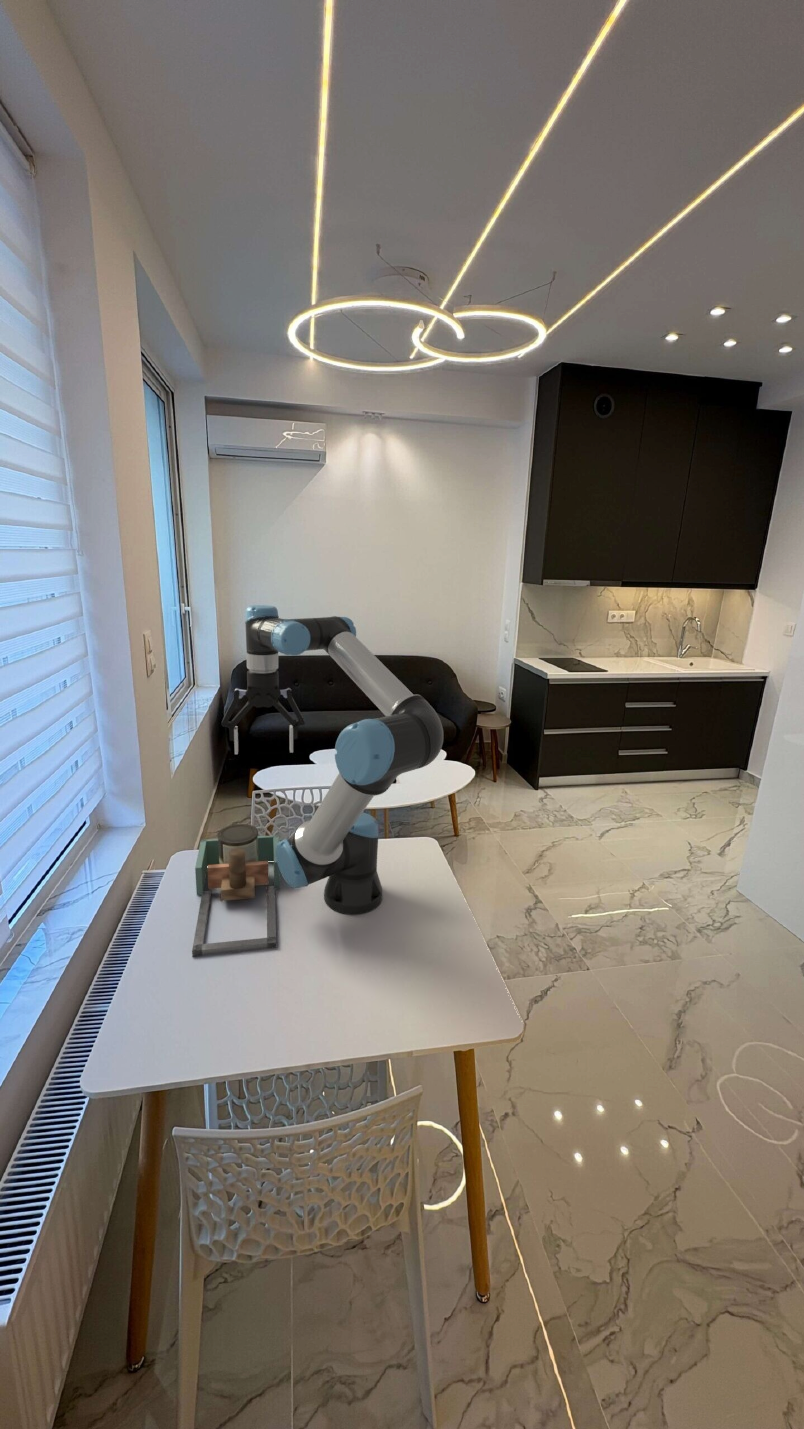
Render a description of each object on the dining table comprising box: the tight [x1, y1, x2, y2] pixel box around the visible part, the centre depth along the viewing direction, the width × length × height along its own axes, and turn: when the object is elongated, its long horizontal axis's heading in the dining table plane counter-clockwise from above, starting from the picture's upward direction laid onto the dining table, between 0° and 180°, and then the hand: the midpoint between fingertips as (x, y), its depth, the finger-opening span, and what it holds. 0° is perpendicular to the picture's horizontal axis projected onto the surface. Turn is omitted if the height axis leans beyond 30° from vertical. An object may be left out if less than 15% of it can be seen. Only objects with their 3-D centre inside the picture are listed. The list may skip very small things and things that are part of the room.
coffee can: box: [217, 823, 259, 864], centre depth 156 cm, size 10×10×14 cm
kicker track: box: [191, 885, 277, 958], centre depth 141 cm, size 18×23×2 cm
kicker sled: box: [207, 848, 269, 901], centre depth 148 cm, size 15×7×12 cm, turn 103°
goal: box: [194, 834, 281, 896], centre depth 158 cm, size 21×15×8 cm
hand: (264, 751), depth 149 cm, fingers open, 13 cm apart
